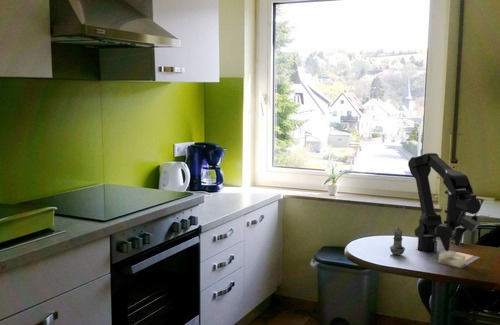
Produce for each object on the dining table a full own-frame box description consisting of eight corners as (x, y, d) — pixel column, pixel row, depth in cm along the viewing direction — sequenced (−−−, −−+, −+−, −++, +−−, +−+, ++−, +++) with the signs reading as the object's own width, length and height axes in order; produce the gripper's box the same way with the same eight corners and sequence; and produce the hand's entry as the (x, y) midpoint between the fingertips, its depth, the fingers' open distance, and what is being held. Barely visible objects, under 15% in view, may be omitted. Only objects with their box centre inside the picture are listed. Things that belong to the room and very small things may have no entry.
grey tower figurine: (391, 253, 209) (392, 224, 208) (406, 255, 206) (408, 226, 205) (387, 257, 204) (388, 227, 203) (402, 260, 201) (404, 229, 200)
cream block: (438, 261, 198) (438, 254, 197) (444, 258, 201) (444, 251, 201) (459, 266, 192) (459, 259, 192) (464, 263, 196) (465, 256, 195)
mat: (424, 260, 200) (424, 259, 200) (444, 250, 213) (444, 249, 213) (460, 269, 191) (460, 268, 191) (479, 258, 204) (479, 257, 204)
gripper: (466, 215, 182) (463, 259, 184) (486, 207, 195) (483, 247, 197) (436, 210, 189) (433, 251, 192) (457, 202, 203) (454, 241, 205)
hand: (452, 248), depth 196 cm, fingers open, 9 cm apart
